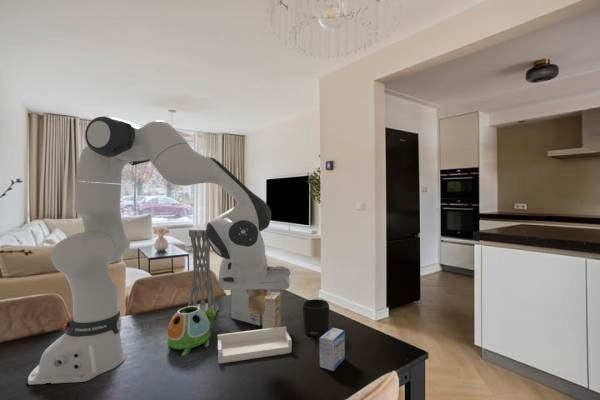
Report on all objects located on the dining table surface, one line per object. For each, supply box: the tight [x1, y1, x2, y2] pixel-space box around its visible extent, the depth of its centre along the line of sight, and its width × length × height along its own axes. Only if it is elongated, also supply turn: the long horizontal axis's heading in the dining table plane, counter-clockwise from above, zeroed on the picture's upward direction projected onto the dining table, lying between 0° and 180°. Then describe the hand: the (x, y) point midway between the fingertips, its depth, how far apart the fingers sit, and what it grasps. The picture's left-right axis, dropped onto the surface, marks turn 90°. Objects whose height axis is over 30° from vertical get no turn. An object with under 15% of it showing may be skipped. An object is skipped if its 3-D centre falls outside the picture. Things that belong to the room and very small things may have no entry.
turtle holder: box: [166, 305, 217, 357], centre depth 103 cm, size 12×18×12 cm
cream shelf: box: [217, 325, 293, 364], centre depth 96 cm, size 22×8×5 cm, turn 106°
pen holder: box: [302, 298, 330, 338], centre depth 110 cm, size 9×9×10 cm
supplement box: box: [262, 291, 282, 329], centre depth 111 cm, size 8×5×13 cm, turn 168°
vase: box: [187, 226, 219, 314], centre depth 130 cm, size 14×13×35 cm
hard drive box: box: [230, 290, 272, 327], centre depth 122 cm, size 16×8×20 cm, turn 58°
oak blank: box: [248, 289, 265, 314], centre depth 93 cm, size 4×4×10 cm
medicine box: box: [319, 327, 346, 372], centre depth 90 cm, size 8×4×9 cm, turn 148°
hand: (257, 292), depth 94 cm, fingers closed on oak blank, 4 cm apart
